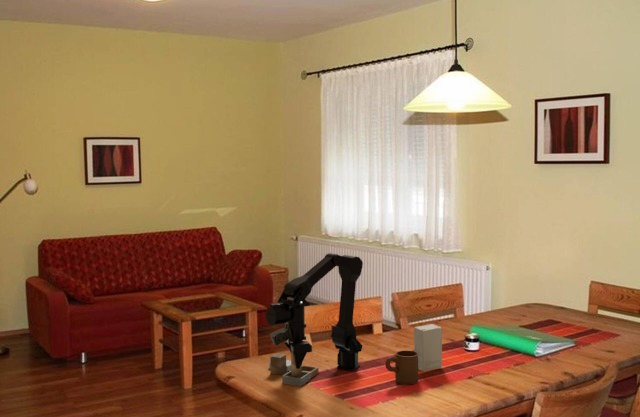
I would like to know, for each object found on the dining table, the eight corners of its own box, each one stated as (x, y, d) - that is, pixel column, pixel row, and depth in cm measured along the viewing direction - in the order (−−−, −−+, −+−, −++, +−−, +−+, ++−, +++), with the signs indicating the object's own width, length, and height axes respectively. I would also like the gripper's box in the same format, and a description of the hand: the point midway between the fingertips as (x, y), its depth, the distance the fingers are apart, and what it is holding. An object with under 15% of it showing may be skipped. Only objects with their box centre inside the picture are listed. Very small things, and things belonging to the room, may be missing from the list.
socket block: (318, 373, 237) (318, 367, 237) (311, 378, 231) (311, 372, 231) (302, 370, 239) (302, 365, 239) (295, 375, 234) (295, 370, 234)
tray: (310, 379, 230) (310, 372, 230) (301, 386, 224) (301, 378, 223) (291, 377, 233) (291, 369, 233) (282, 383, 226) (282, 376, 226)
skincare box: (432, 364, 246) (433, 323, 245) (442, 368, 240) (443, 327, 239) (413, 367, 242) (413, 326, 241) (422, 372, 237) (423, 329, 235)
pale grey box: (297, 368, 244) (297, 361, 243) (287, 373, 238) (287, 366, 238) (279, 364, 248) (279, 358, 248) (269, 369, 243) (269, 362, 243)
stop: (286, 371, 239) (286, 354, 238) (280, 374, 235) (280, 357, 235) (276, 370, 240) (275, 353, 240) (270, 373, 237) (270, 356, 236)
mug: (391, 388, 221) (391, 359, 220) (379, 381, 227) (379, 353, 227) (422, 382, 226) (423, 354, 225) (409, 376, 233) (409, 349, 232)
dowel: (300, 373, 230) (300, 347, 230) (303, 376, 227) (303, 350, 226) (289, 374, 229) (289, 347, 228) (292, 377, 226) (292, 350, 225)
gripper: (266, 315, 233) (267, 360, 235) (277, 329, 215) (278, 377, 217) (298, 313, 236) (298, 357, 238) (312, 326, 218) (312, 374, 220)
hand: (296, 366), depth 228 cm, fingers closed on dowel, 4 cm apart
